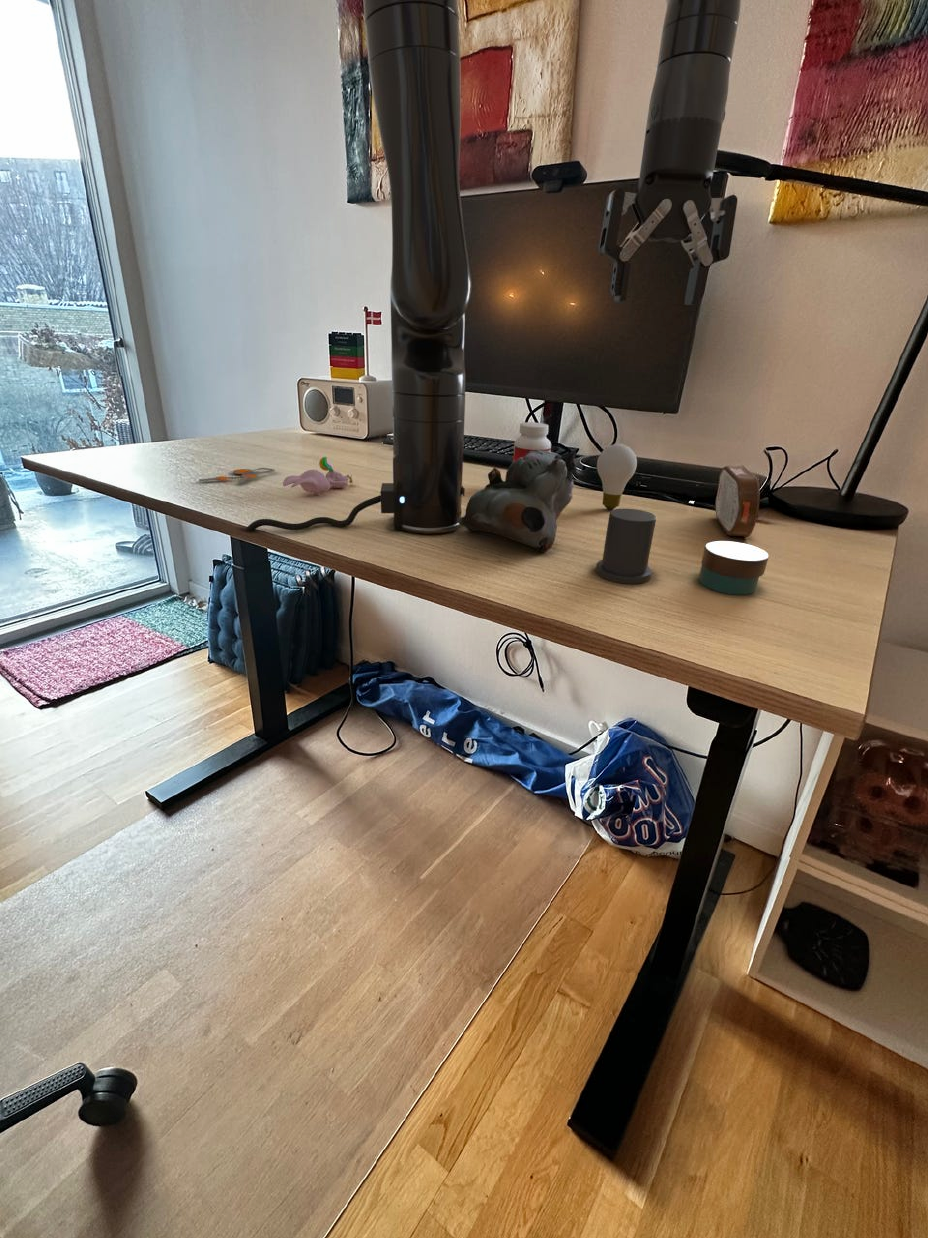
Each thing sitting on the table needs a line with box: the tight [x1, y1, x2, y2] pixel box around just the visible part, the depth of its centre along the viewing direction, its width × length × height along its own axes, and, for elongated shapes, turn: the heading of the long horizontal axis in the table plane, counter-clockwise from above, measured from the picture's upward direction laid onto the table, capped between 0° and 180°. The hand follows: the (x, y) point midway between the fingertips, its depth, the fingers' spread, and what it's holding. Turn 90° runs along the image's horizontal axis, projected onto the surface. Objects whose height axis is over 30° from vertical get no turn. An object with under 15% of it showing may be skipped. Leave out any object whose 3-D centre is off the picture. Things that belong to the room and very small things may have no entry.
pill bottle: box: [512, 421, 552, 463], centre depth 98 cm, size 6×6×11 cm
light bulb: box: [596, 443, 638, 511], centre depth 89 cm, size 6×6×10 cm
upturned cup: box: [595, 508, 657, 585], centre depth 65 cm, size 6×6×7 cm
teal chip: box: [698, 564, 760, 596], centre depth 65 cm, size 6×6×2 cm
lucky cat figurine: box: [458, 450, 576, 553], centre depth 74 cm, size 15×12×14 cm
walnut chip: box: [700, 540, 770, 578], centre depth 64 cm, size 6×6×2 cm
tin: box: [714, 464, 761, 538], centre depth 83 cm, size 15×3×8 cm, turn 168°
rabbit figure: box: [282, 456, 354, 496], centre depth 92 cm, size 6×6×15 cm
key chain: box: [198, 467, 276, 484], centre depth 101 cm, size 13×7×1 cm, turn 156°
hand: (655, 303), depth 67 cm, fingers open, 8 cm apart
